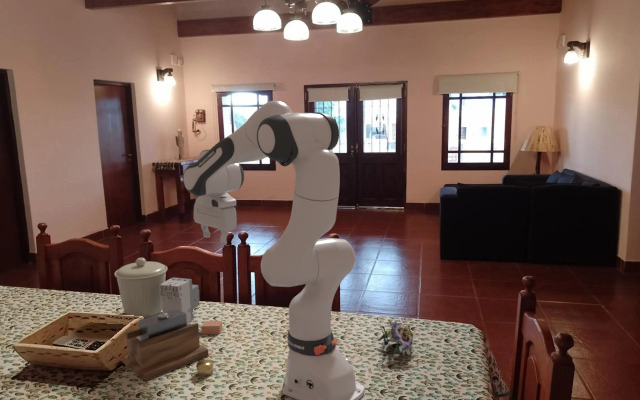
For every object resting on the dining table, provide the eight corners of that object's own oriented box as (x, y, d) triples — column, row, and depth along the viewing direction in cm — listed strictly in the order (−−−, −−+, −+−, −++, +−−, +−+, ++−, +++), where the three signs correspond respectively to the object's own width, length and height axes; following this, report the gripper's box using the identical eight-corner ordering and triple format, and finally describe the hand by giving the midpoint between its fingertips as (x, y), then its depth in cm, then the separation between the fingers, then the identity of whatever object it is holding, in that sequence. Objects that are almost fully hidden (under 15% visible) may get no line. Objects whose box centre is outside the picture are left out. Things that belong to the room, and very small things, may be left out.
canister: (125, 328, 164) (121, 268, 160) (112, 311, 178) (107, 256, 175) (177, 315, 175) (173, 259, 171) (160, 300, 189) (157, 248, 185)
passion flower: (406, 371, 145) (408, 352, 137) (372, 358, 149) (372, 340, 140) (416, 339, 152) (419, 319, 144) (383, 328, 156) (384, 308, 147)
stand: (208, 355, 144) (207, 326, 143) (144, 381, 130) (142, 348, 129) (182, 338, 155) (180, 311, 154) (120, 360, 142) (118, 330, 140)
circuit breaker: (202, 312, 177) (200, 273, 174) (181, 328, 163) (178, 286, 161) (184, 310, 179) (182, 272, 176) (162, 326, 165) (159, 284, 163)
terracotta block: (222, 329, 163) (221, 321, 162) (219, 334, 159) (219, 325, 159) (204, 329, 163) (204, 321, 162) (201, 334, 159) (201, 326, 158)
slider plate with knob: (142, 344, 134) (141, 324, 133) (134, 338, 138) (132, 318, 137) (192, 327, 145) (191, 308, 144) (183, 322, 149) (182, 304, 148)
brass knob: (216, 373, 134) (215, 363, 134) (202, 379, 131) (202, 369, 131) (207, 367, 137) (207, 357, 137) (194, 373, 134) (193, 363, 134)
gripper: (187, 196, 161) (189, 236, 164) (222, 203, 147) (224, 247, 149) (204, 193, 166) (205, 232, 168) (239, 201, 151) (240, 243, 154)
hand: (214, 239), depth 159 cm, fingers open, 8 cm apart
